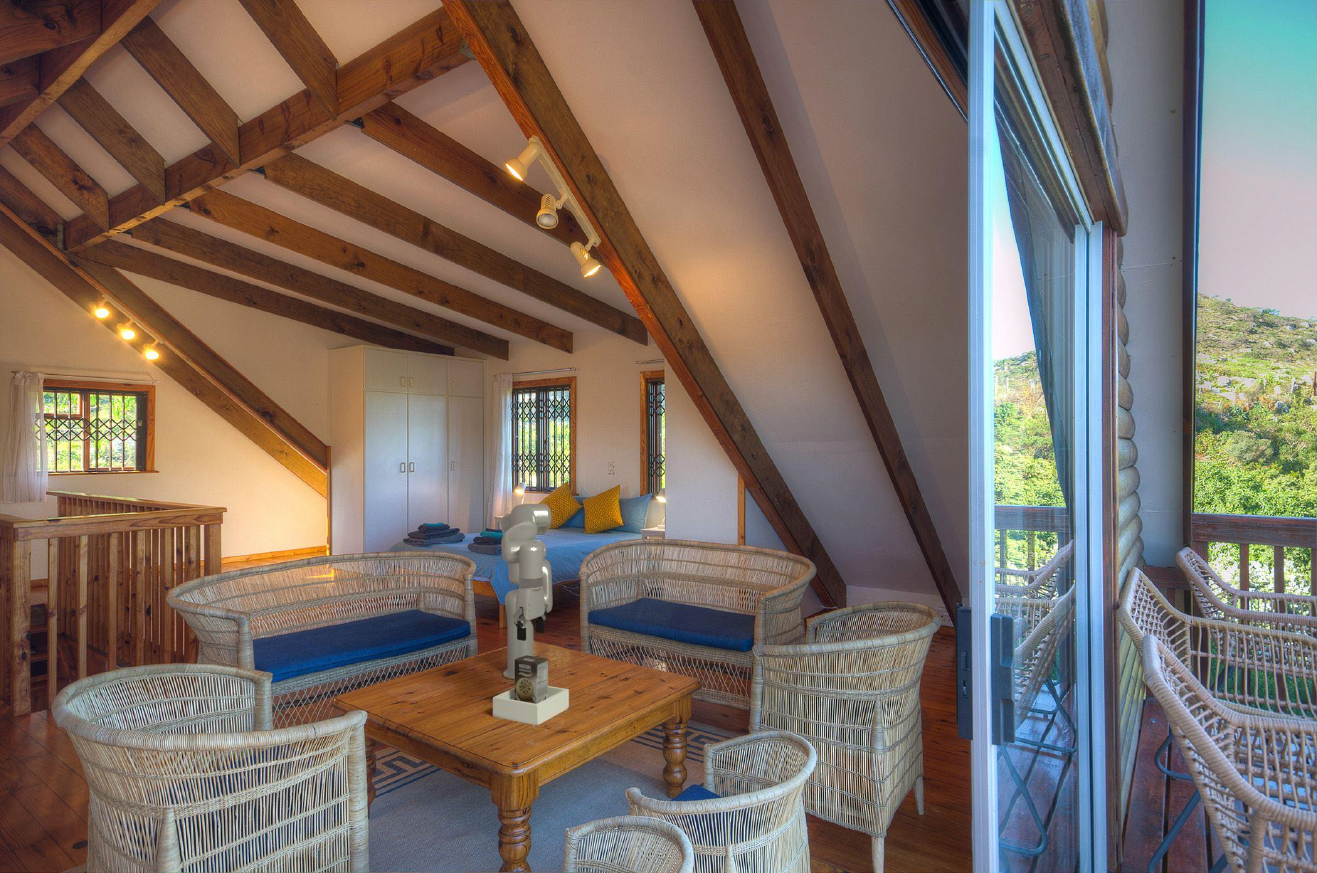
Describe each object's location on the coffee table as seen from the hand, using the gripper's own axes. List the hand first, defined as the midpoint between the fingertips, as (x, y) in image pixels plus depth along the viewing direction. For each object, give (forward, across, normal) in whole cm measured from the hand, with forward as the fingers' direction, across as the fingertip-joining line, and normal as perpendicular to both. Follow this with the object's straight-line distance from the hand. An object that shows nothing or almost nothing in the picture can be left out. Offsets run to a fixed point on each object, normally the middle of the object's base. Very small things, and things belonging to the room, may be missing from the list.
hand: (531, 636), depth 235 cm
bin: (+24, +1, +1) cm, 24 cm away
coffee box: (+23, +1, 0) cm, 23 cm away
